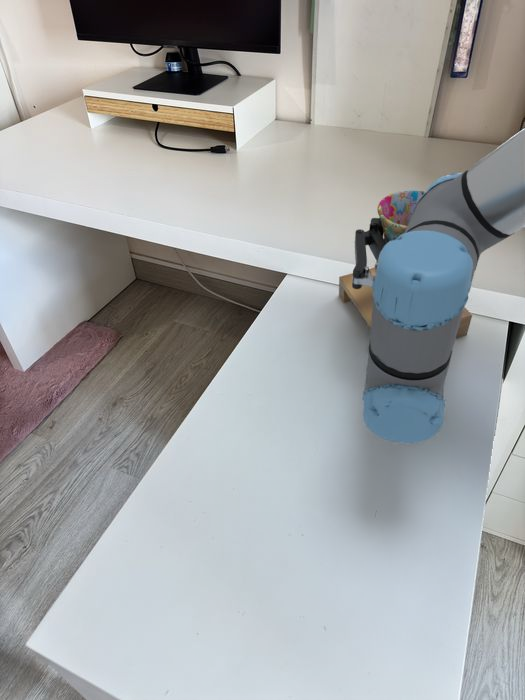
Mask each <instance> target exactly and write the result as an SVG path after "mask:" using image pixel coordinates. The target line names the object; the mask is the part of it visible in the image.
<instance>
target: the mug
mask: <svg viewBox="0 0 525 700" xmlns="http://www.w3.org/2000/svg"><path fill="white" fill-rule="evenodd" d="M424 193H425V191H424V190H402V191H397V192H393V193H391V194H388V195H386V196H385V197H383V198H382V199H381V200H380V201H379V203H378V205H377V209H376V210H377V214H378V218H380V219H381V222H382V226H383V231H384V234H383V238H384V240H385V242H386V243H388V242H389V241H392V240H396V239H397V238H398V237H399V236H400V235H401V234H404V233H405V231H406V228H407V226H408V224H409V222H410V220H411V218H412V214H413V211H414V208H415V206H416V205H417V203H418V201H419V199H420V197H421V196H422V195H423V194H424ZM377 264H378V263H377V261H376V260H375V264H374V267H375V271H377Z"/></svg>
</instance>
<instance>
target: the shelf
mask: <svg viewBox="0 0 525 700" xmlns="http://www.w3.org/2000/svg"><path fill="white" fill-rule="evenodd" d="M369 270H370V271H371V275H372V276H375V275H376V271H375V266H374V267H369ZM352 279H353V272H351V273H349V274H348V273H347V274H345V275H344V274H343V275H340V276H339V277H338V297H339V299H340V300H341V301H342V302H343V303H347V302H350V301H351V302H352V304H353V305H354V306H355V308H356V309H357V311H358V312H359V313H360V315H361V316H362V318H363V319H364V321H365V322H366V323H367V325H368V326H369V328H370V329H371V320H372V307H373V289H372V287H369V286H365V285H362V287H361V288H360V289H354V288H353V287H352ZM472 318H473V314H472V313H471V312H470V311H469V309H467V308H466V306H465V307H464V310H463V314H462V317H461V321H460V325H459V328H458V331H457V335H456V338H455V339H457V338H460V337H464V336H467V335H468V332H469V329H470V325H471V321H472Z"/></svg>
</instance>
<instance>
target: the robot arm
mask: <svg viewBox="0 0 525 700" xmlns="http://www.w3.org/2000/svg"><path fill="white" fill-rule="evenodd" d="M424 192H425V193H424V194H423V195H422V196H421V197H420V199H419V201H418V203H417V205H416V206H415V208H414V211H413V214H412V218H411V220H410V222H409V224H408V226H407V228H406V231H405V233H404V234H401V235H400V236H399V237H398V238H397V239H396V240H392V241H389V242H388V243H386V242H385V240H384V231H383V226H382V222H381V219H380V217H372V218H371V219H370V224H369V229H368V230H366V231H365V230H364V229H361V228H360V229H357V230H355V234H354V260H355V266H354V267H353V270H352V273H353V279H352V287H353V288H354V289H360V288H361V287H362V285H365V286H369V287H372V289H373V307H372V320H371V328H370V332H369V333H370V335H369V344H368V351H367V361H366V362H367V363H366V373H365V382H364V383H365V384H364V390H363V392H362V401H363V404H362V405H363V406H362V418H363V422H364V424H365V425H366V427H367V428H368V430H369V431H370V432H371V433H372V434H374V435H375V436H377V437H379V438H381V439H383V440H385V441H388V442H392V443H401V444H418V443H421V442H425V441H427V440H429V439H432V438H433V437H434V436H436V435H437V434H438V433H439V431H440V430H441V428H442V427H443V423H444V411H445V410H444V409H445V407H446V400H445V399H444V398H445V397H444V391H445V384H446V383H445V382H446V378H447V374H448V371H449V367H450V363H451V358H452V355H453V348H454V345H455V341H456V339H457V338H456V335H457V331H458V328H459V325H460V321H461V317H462V314H463V310H464V307H465V308H466V305H467V303H468V301H469V294H470V292H471V289H472V283H473V279H474V276H475V273H476V270H477V266H478V263H479V260H480V257H481V254H483V253H484V252H485V251H486V250H488V249H490V248H492V247H493V246H495V245H497V244H499V243H501V242H502V241H505V240H506V239H507V238H509V237H511V236H512V235H514V234H515V233H517V232H518V231H521V230H522V229H523V228H525V127H524V128H523V129H521V130H519V132H517V133H516V134H515V135H513V136H511V137H510V138H509V139H508V140H506V141H505V142H503V143H502V144H500V145H499V146H498V147H497V148H495V149H494V150H493V151H491V152H489V154H487V155H485V156H484V157H483V158H481V159H480V160H479V161H477V162H476V163H475V164H473V165H472V166H470V167H469V168H468V169H466V170H465V171H464V172H455V173H450V174H447V175H446V174H445V175H443V176H441V177H439V178H437V179H435V180H434V181H433V182H432V183H431V184H430V185H429V186H428V187H427V189H425V191H424ZM367 246H368V247H369V250H370V251H371V254H372V255H373V257H374V259H375V262H376V261H377V263H378V264H377V271H376V275H375V276H372V275H371V271H370V270H369V269H370V267H369V266H368V265H367V264H368V257H367V255H368V254H367Z"/></svg>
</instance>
